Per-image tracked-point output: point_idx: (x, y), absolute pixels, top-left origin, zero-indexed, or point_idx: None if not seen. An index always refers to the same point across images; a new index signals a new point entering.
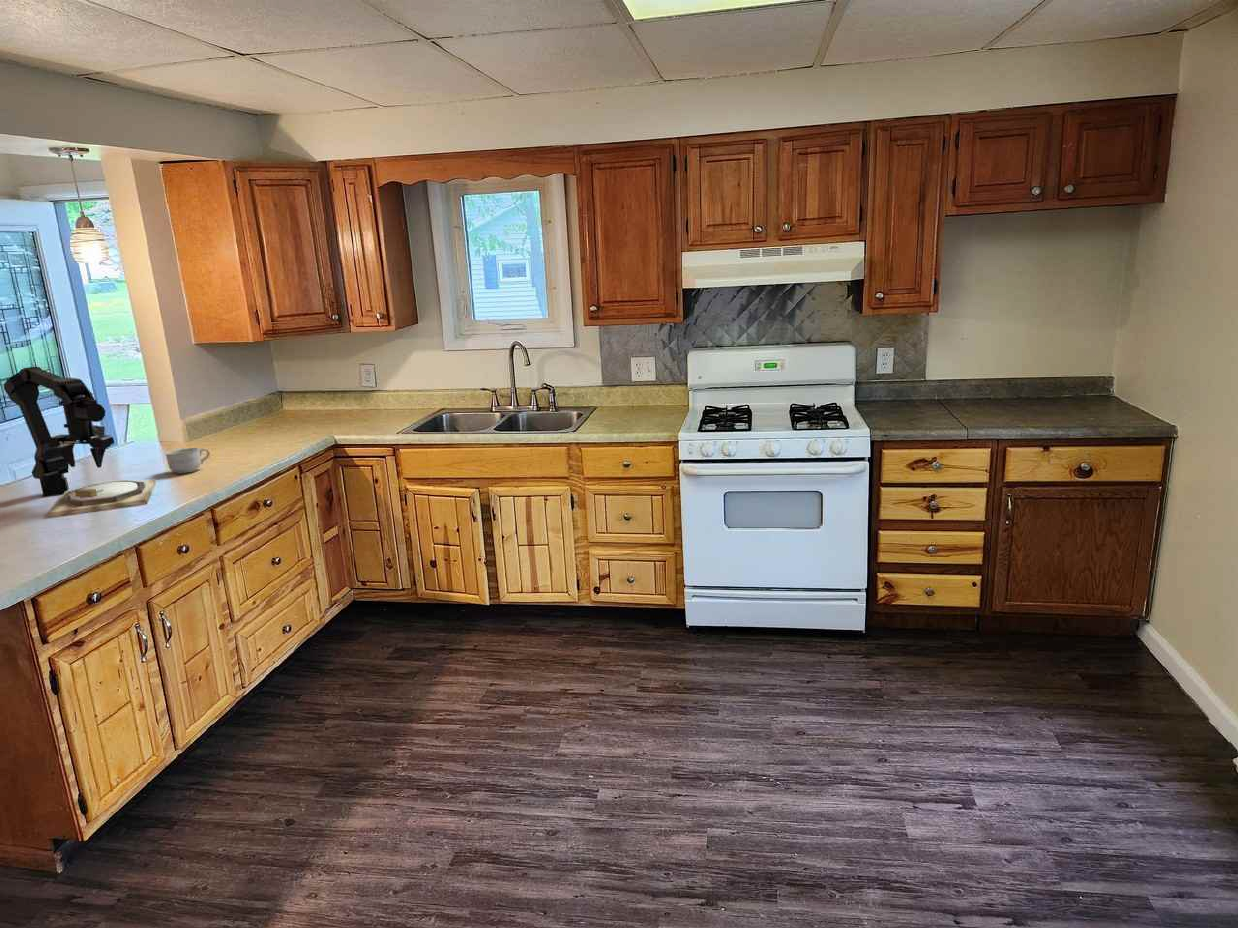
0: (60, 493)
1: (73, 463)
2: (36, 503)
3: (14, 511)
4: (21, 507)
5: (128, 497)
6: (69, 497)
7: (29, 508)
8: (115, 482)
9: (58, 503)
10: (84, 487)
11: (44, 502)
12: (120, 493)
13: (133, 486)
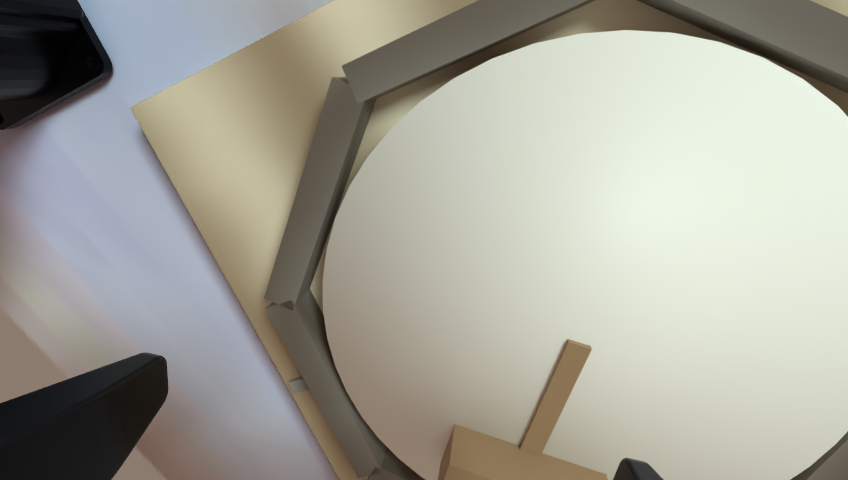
0: (89, 82)
1: (128, 408)
2: (107, 278)
3: None
4: (88, 343)
5: None
6: None
7: None
8: (571, 52)
9: (334, 437)
10: (316, 178)
11: (141, 266)
12: (805, 466)
13: None
